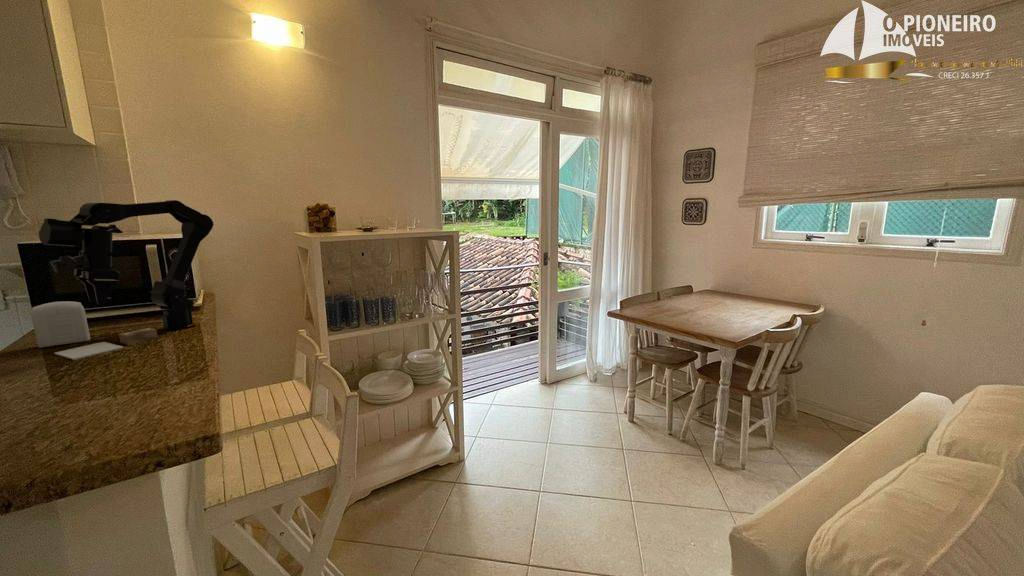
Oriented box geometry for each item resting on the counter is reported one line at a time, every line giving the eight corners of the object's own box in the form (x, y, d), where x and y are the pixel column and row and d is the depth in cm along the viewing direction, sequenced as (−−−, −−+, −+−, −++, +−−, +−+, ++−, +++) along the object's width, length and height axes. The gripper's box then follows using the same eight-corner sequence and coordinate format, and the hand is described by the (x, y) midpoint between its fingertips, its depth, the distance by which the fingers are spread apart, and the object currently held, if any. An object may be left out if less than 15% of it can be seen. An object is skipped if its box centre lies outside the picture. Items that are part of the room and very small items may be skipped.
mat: (103, 342, 115) (103, 341, 115) (123, 348, 111) (123, 346, 111) (54, 354, 106) (54, 352, 106) (74, 360, 102) (73, 358, 102)
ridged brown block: (149, 336, 122) (148, 327, 121) (158, 338, 120) (156, 328, 119) (120, 343, 115) (118, 333, 115) (128, 345, 114) (126, 335, 113)
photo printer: (91, 337, 120) (82, 298, 117) (90, 341, 117) (81, 300, 114) (39, 345, 113) (29, 303, 110) (37, 349, 110) (26, 306, 107)
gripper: (47, 244, 109) (46, 301, 109) (60, 245, 98) (59, 307, 99) (104, 248, 118) (103, 300, 118) (122, 249, 107) (120, 306, 108)
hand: (96, 303), depth 111 cm, fingers open, 9 cm apart
